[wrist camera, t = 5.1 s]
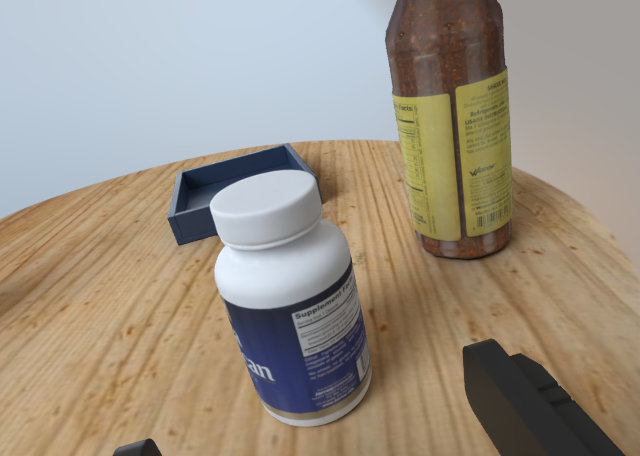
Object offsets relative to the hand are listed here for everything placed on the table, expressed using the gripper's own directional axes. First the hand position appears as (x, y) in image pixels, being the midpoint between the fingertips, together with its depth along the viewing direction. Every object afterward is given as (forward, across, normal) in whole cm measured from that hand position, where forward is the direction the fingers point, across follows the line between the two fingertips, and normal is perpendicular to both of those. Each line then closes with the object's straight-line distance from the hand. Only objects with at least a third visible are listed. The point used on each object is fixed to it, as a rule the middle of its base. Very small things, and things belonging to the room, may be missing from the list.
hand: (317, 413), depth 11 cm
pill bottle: (+7, 0, +6) cm, 9 cm away
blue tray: (+34, +3, +6) cm, 35 cm away
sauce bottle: (+15, -11, +6) cm, 20 cm away
